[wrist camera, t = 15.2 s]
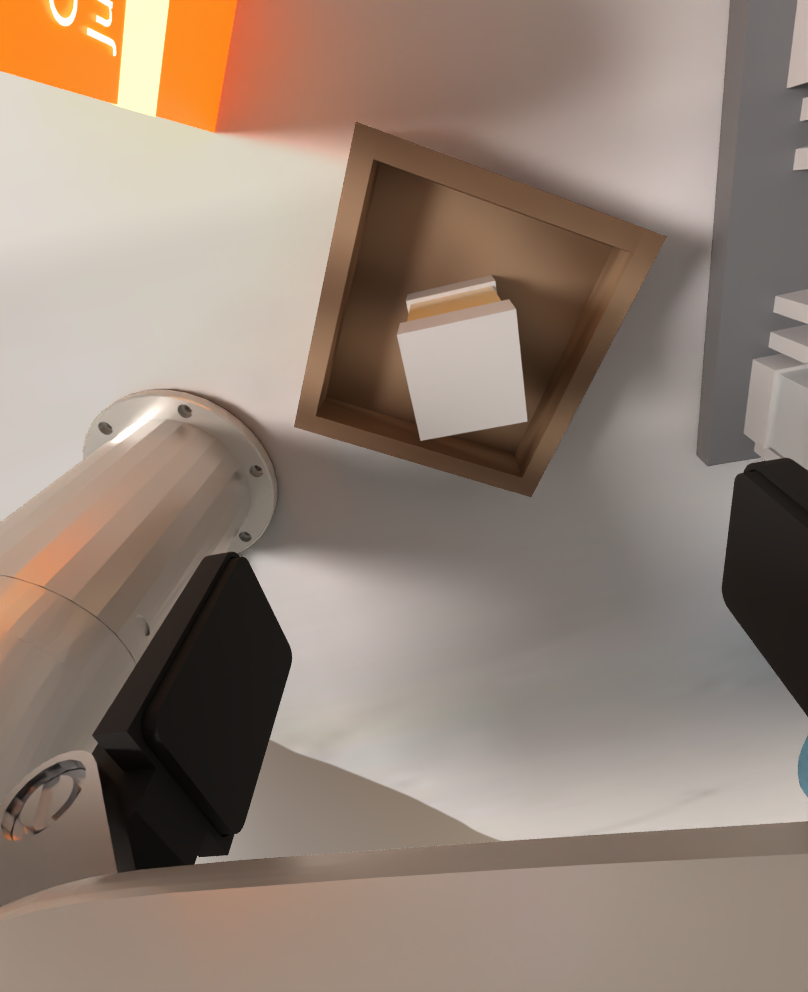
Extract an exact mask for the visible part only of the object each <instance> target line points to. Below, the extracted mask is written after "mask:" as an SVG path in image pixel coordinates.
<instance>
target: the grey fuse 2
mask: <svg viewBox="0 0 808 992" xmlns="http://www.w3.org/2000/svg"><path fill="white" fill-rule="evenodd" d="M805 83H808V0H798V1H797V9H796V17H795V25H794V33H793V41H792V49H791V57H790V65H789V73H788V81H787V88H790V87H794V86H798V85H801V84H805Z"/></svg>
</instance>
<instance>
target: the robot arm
mask: <svg viewBox="0 0 808 992" xmlns="http://www.w3.org/2000/svg"><path fill="white" fill-rule="evenodd" d="M188 406H189V407H190V408H189V407H188ZM258 466H259V467H258ZM260 467H261V468H260ZM276 502H277V480H276V476H275V472H274V468H273V465H272V463H271V461H270V459H269V457H268V455H267V453H266V451H265V449H264V448H263V446H262V445H261V443H260V442H259V441H258V439H257V438H256V436H255V435H254V434H253V433H252V432H251V431H250V430H249V429H248V428H247V427H246V426H245V425H244V424H243V423H242V422H241V421H240V420H239V419H237V418H236V417H235V416H233V415H232V414H231V413H229V412H228V411H227V410H225V409H224V408H222V407H220V406H218V405H216V404H214V403H212V402H210V401H208V400H207V399H204V398H201V397H198V396H195V395H192V394H189V393H185V392H179V391H173V390H147V391H142V392H138V393H133V394H130V395H128V396H126V397H124V398H122V399H120V400H118V401H116V402H115V403H113V404H112V405H110V406H109V407H107V408H106V409H105V410H103V411H102V412H101V413H100V414H99V415H98V416H97V417H96V418H95V419H94V421H93V422H92V424H91V426H90V428H89V430H88V432H87V434H86V437H85V442H84V447H83V460H82V461H81V462H80V463H78V464H77V465H76V466H74V467H73V468H72V469H70V470H69V471H68V472H66V473H65V474H64V475H62V476H61V477H60V478H58V479H57V480H56V481H54V482H53V483H52V484H50V485H49V486H48V487H46V488H45V489H44V490H42V491H41V492H40V493H38V494H37V495H36V496H34V497H33V498H32V499H30V500H29V501H28V502H27V503H25V504H24V505H23V506H21V507H20V508H19V509H17V510H16V511H15V512H13V513H12V514H11V515H9V516H8V517H7V518H5V519H4V520H3V521H1V522H0V992H808V821H806V822H791V823H775V824H759V825H743V826H727V827H712V828H696V829H680V830H664V831H649V832H633V833H618V834H603V835H588V836H573V837H559V838H544V839H529V840H514V841H500V842H486V843H471V844H457V845H442V846H428V847H413V848H400V849H386V850H372V851H359V852H345V853H332V854H319V855H305V856H291V857H278V858H264V859H253V860H239V861H227V862H216V863H207V864H196V865H194V864H195V861H196V858H197V855H198V856H199V857H207V856H220V855H221V856H222V855H228V853H229V850H230V847H231V844H232V840H233V837H234V834H237V833H238V832H240V831H241V829H242V828H243V825H244V823H245V820H246V816H247V813H248V810H249V807H250V803H251V799H252V796H253V793H254V790H255V786H256V783H257V779H258V776H259V773H260V769H261V766H262V762H263V759H264V755H265V752H266V749H267V745H268V742H269V739H270V735H271V732H272V728H273V725H274V722H275V718H276V715H277V711H278V708H279V705H280V701H281V698H282V694H283V691H284V688H285V684H286V681H287V677H288V674H289V671H290V667H291V663H292V652H291V648H290V645H289V643H288V641H287V639H286V637H285V635H284V633H283V631H282V629H281V627H280V625H279V623H278V621H277V619H276V617H275V615H274V613H273V611H272V609H271V606H270V604H269V602H268V600H267V598H266V596H265V594H264V592H263V590H262V588H261V586H260V584H259V582H258V580H257V578H256V576H255V574H254V572H253V570H252V568H251V566H250V563H249V562H248V560H247V559H246V558H245V557H239V555H238V554H237V553H240V552H241V551H243V550H245V549H246V548H248V547H250V546H251V545H253V544H254V543H255V542H256V541H257V540H258V539H259V538H260V537H261V536H262V534H263V533H264V531H265V530H266V528H267V526H268V525H269V523H270V521H271V518H272V516H273V514H274V512H275V507H276ZM722 594H723V598H724V601H725V604H726V606H727V607H728V609H729V610H730V612H731V613H732V614H733V616H734V617H735V618H736V620H737V621H738V622H739V624H740V625H741V626H742V628H743V629H744V631H745V632H746V633H747V635H748V636H749V637H750V639H751V640H752V641H753V643H754V644H755V646H756V647H757V648H758V650H759V651H760V652H761V654H762V655H763V656H764V658H765V659H766V660H767V662H768V663H769V665H770V666H771V667H772V669H773V670H774V671H775V673H776V674H777V675H778V677H779V678H780V679H781V681H782V682H783V684H784V685H785V686H786V688H787V689H788V690H789V692H790V693H791V694H792V696H793V697H794V698H795V700H796V701H797V703H798V704H799V705H800V707H801V708H802V709H803V711H804V712H805V713H806V715H807V716H808V470H807V469H805V468H804V467H802V466H801V465H799V464H798V463H797V462H795V461H794V460H792V459H790V458H780V459H774V460H768V461H762V462H757V463H751V464H749V465H747V467H746V468H745V470H744V473H740V474H738V475H737V476H736V478H735V482H734V489H733V498H732V506H731V515H730V523H729V531H728V540H727V548H726V557H725V565H724V574H723V582H722Z"/></svg>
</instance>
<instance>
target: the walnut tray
mask: <svg viewBox="0 0 808 992" xmlns="http://www.w3.org/2000/svg"><path fill="white" fill-rule="evenodd" d="M665 239H666V236H664V235H661V234H658V233H656V232H653V231H650V230H647V229H645V228H642V227H639V226H637V225H634V224H631V223H628V222H626V221H623V220H620V219H618V218H615V217H612V216H610V215H607V214H604V213H601V212H599V211H596V210H593V209H591V208H588V207H585V206H582V205H580V204H577V203H574V202H572V201H569V200H566V199H564V198H561V197H558V196H555V195H553V194H550V193H547V192H545V191H542V190H539V189H536V188H534V187H531V186H528V185H526V184H523V183H520V182H518V181H515V180H512V179H509V178H507V177H504V176H501V175H499V174H496V173H493V172H490V171H488V170H485V169H482V168H480V167H477V166H474V165H471V164H469V163H466V162H463V161H461V160H458V159H455V158H453V157H450V156H447V155H444V154H442V153H439V152H436V151H434V150H431V149H428V148H425V147H423V146H420V145H417V144H415V143H412V142H409V141H407V140H404V139H401V138H398V137H396V136H393V135H390V134H388V133H385V132H382V131H379V130H377V129H374V128H371V127H369V126H366V125H363V124H361V123H358V122H356V124H355V129H354V134H353V139H352V144H351V149H350V154H349V159H348V164H347V168H346V173H345V178H344V183H343V188H342V193H341V198H340V203H339V208H338V213H337V218H336V223H335V228H334V233H333V238H332V242H331V247H330V252H329V257H328V262H327V267H326V272H325V277H324V282H323V287H322V292H321V297H320V302H319V307H318V312H317V317H316V321H315V326H314V331H313V336H312V341H311V346H310V351H309V356H308V361H307V366H306V371H305V376H304V381H303V386H302V391H301V395H300V400H299V405H298V410H297V415H296V420H295V425H294V427H296V428H300V429H303V430H306V431H310V432H313V433H317V434H320V435H323V436H327V437H330V438H333V439H337V440H340V441H344V442H347V443H350V444H354V445H357V446H360V447H364V448H367V449H370V450H374V451H377V452H381V453H384V454H387V455H391V456H394V457H397V458H401V459H404V460H408V461H411V462H414V463H418V464H421V465H424V466H428V467H431V468H435V469H438V470H441V471H445V472H448V473H451V474H455V475H458V476H462V477H465V478H468V479H472V480H475V481H478V482H482V483H485V484H489V485H492V486H495V487H499V488H502V489H505V490H509V491H512V492H516V493H519V494H522V495H526V496H529V497H531V496H532V495H533V493H534V491H535V489H536V487H537V485H538V483H539V481H540V479H541V477H542V475H543V473H544V471H545V470H546V468H547V466H548V464H549V462H550V460H551V458H552V456H553V454H554V452H555V450H556V448H557V446H558V445H559V443H560V441H561V439H562V437H563V435H564V433H565V431H566V429H567V427H568V425H569V423H570V421H571V420H572V418H573V416H574V414H575V412H576V410H577V408H578V406H579V404H580V402H581V400H582V398H583V396H584V395H585V393H586V391H587V389H588V387H589V385H590V383H591V381H592V379H593V377H594V375H595V373H596V372H597V370H598V368H599V366H600V364H601V362H602V360H603V358H604V356H605V354H606V352H607V350H608V348H609V347H610V345H611V343H612V341H613V339H614V337H615V335H616V333H617V331H618V329H619V327H620V325H621V323H622V322H623V320H624V318H625V316H626V314H627V312H628V310H629V308H630V306H631V304H632V302H633V300H634V298H635V297H636V295H637V293H638V291H639V289H640V287H641V285H642V283H643V281H644V279H645V277H646V275H647V273H648V272H649V270H650V268H651V266H652V264H653V262H654V260H655V258H656V256H657V254H658V252H659V250H660V248H661V247H662V245H663V243H664V241H665ZM489 275H492V277H493V278H494V279H495V281H496V289H497V295H498V296H499V298H500V300H501V301H503V300H508V299H509V300H510V301H511V303H512V304H513V306H514V307H515V308H516V313H517V323H518V333H519V342H520V352H521V362H522V372H523V381H524V391H525V401H526V411H527V422H522V423H516V424H511V425H505V426H500V427H494V428H489V429H483V430H478V431H472V432H467V433H461V434H456V435H450V436H444V437H439V438H433V439H428V440H422V441H420V437H419V432H418V428H417V423H416V419H415V414H414V410H413V405H412V401H411V396H410V392H409V387H408V383H407V378H406V374H405V369H404V365H403V361H402V356H401V352H400V347H399V343H398V338H397V332H398V329H399V325H400V323H403V322H407V319H408V315H409V313H408V309H407V304H406V299H407V295H408V294H411V293H415V292H419V291H424V290H428V289H433V288H437V287H441V286H446V285H450V284H454V283H459V282H463V281H467V280H472V279H476V278H481V277H485V276H489Z"/></svg>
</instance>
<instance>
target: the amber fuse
mask: <svg viewBox="0 0 808 992" xmlns="http://www.w3.org/2000/svg"><path fill="white" fill-rule="evenodd" d="M406 304H407V309H408V313H409V315H408V319H407V322H403V323H400V325H399V329H398V332H397V338H398V343H399V347H400V352H401V356H402V361H403V365H404V369H405V374H406V378H407V383H408V387H409V392H410V396H411V401H412V405H413V410H414V414H415V419H416V423H417V428H418V432H419V437H420V441H422V440H428V439H433V438H439V437H444V436H450V435H456V434H461V433H467V432H472V431H478V430H483V429H489V428H494V427H500V426H505V425H511V424H516V423H522V422H527V411H526V401H525V391H524V381H523V372H522V362H521V352H520V342H519V333H518V323H517V313H516V308H515V307H514V306H513V304H512V303H511V301H510V300H509V299H508V300H503V301H501V300H500V298H499V296H498V295H497V289H496V281H495V279H494V278H493V277H492V275H489V276H485V277H481V278H476V279H472V280H467V281H463V282H459V283H454V284H450V285H446V286H441V287H437V288H433V289H428V290H424V291H419V292H415V293H411V294H408V295H407V299H406Z"/></svg>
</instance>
